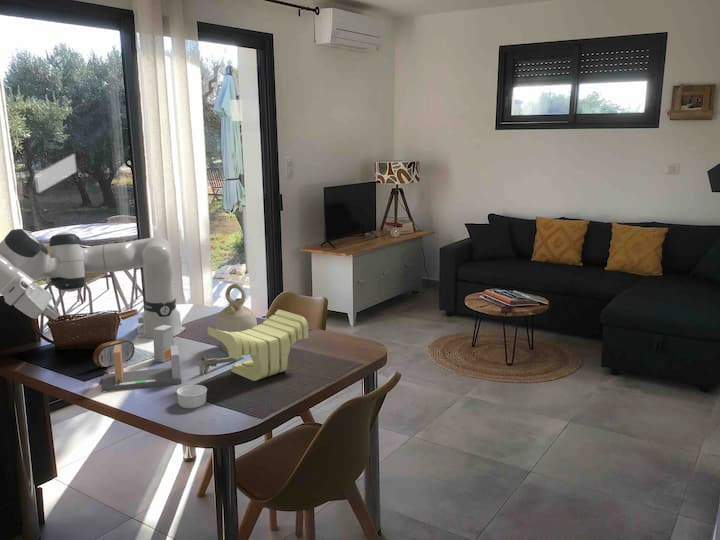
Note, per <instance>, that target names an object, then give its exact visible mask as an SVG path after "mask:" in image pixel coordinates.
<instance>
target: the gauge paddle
mask: <svg viewBox="0 0 720 540" xmlns="http://www.w3.org/2000/svg"><path fill="white" fill-rule="evenodd" d="M113 355H114V373H115V381H116V383H117V384H120V382H122V381H123V372H124V363H123V361H122V347H121V344H120V345H115V346H114V352H113Z"/></svg>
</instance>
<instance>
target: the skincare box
mask: <svg viewBox="0 0 720 540" xmlns="http://www.w3.org/2000/svg"><path fill="white" fill-rule="evenodd" d="M152 339H153V358H154V362H160V363H165V362H167V361H168V360H171V348H170V346H174V336H173V326H168V325H162V326H159V327H157V328H155V329H153V338H152Z"/></svg>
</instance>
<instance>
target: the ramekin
mask: <svg viewBox="0 0 720 540" xmlns="http://www.w3.org/2000/svg"><path fill="white" fill-rule="evenodd" d="M207 391H208V388H207V386H205V385H202V384H189V385H183V386H180V387H179V388H178V389H177V390H176V395H177V402H178V405H179V406H180V408H184V409H196V408H200V407H203V406H204V405H205V404H206V402H207V393H208V392H207Z"/></svg>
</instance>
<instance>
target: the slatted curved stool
mask: <svg viewBox="0 0 720 540" xmlns="http://www.w3.org/2000/svg"><path fill="white" fill-rule="evenodd" d="M207 335H209V336H210V337H212V338H214V339H217V340H218V341H219V340H220V341H221V342H222V343H223V344H224V345H225V346H226V348H227V350H228V352H227V353H228V357H232V358H234V359H237V360H238V359H239V358H241V357H244V356H245V357H246V356H248V355H250V357H251V359H250V360H246V361H243V362H241V363H240V362H239V363H237V364H236V363H235V364H232V368H231V370H230V372H232V373H234V374H236V375H238V376H241V377H244V378H246V379H248V380H251V381H254V382H255V381H259V380H262V379H265V378H268V377H272V376H274V375H277V374H280V373H284V372H285V371H287V369H288V360H289V356H290V351H291V346H293V345H294V344H295V343H296V342H297V341H300V340H303V339H305V340H307V339H309V323H308V321H307V319H306V318H305V317H304V316H302V315H299V314H296V313H293V312H289V311H286V310H282V309H279V308H278V309H277V310H276V311H275V312H274V314H272V315H270V317H268V319H265V320H264V321H263V322H262V323H260V324H257V326H256V327H253V328H252V330H251V329H248V330H245V331H241V332H226V331H220V330H217V329H216V328H213V327H210V326H207Z"/></svg>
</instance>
